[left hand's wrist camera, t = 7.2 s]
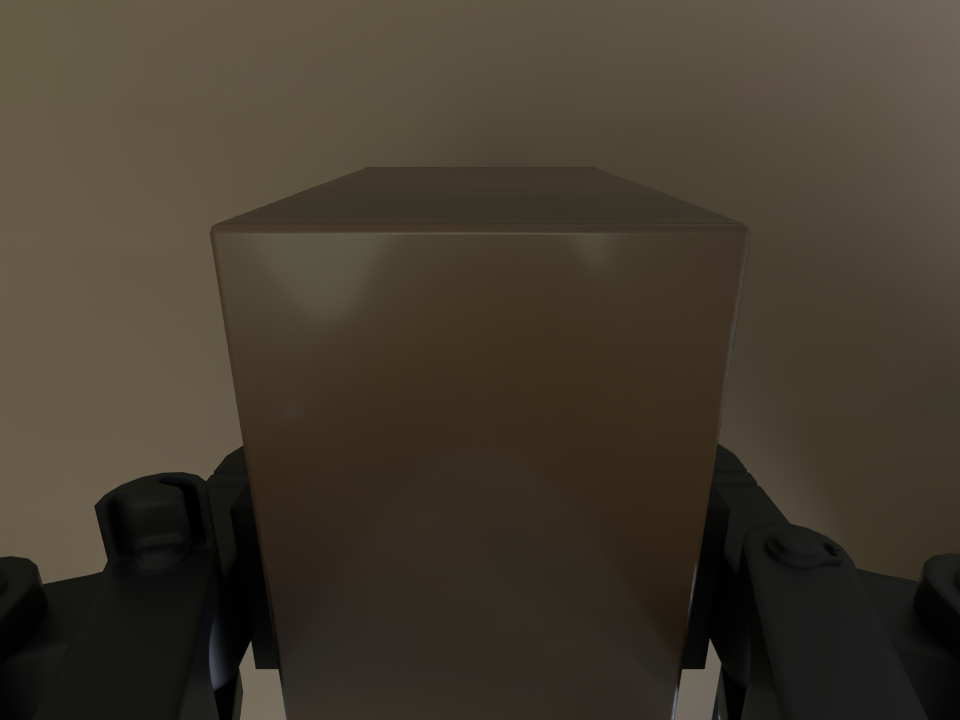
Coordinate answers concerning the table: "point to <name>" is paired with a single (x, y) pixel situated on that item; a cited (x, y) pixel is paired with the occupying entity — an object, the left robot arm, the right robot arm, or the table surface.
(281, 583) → the block
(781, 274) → the table surface
